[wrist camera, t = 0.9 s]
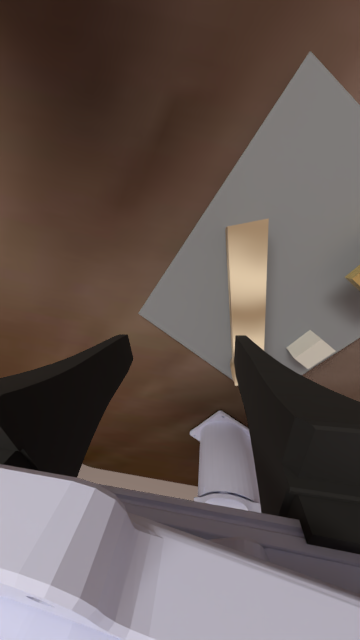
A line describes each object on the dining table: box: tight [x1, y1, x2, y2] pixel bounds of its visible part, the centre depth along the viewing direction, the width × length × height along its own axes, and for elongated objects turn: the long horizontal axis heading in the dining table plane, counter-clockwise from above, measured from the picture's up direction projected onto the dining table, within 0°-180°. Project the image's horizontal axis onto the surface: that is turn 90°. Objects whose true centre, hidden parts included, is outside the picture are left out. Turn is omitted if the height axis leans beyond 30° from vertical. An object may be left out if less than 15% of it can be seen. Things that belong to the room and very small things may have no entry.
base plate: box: [138, 51, 360, 380], centre depth 17 cm, size 20×23×1 cm
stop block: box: [287, 330, 335, 369], centre depth 18 cm, size 2×3×2 cm, turn 144°
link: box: [225, 218, 269, 386], centre depth 17 cm, size 17×4×3 cm, turn 9°
